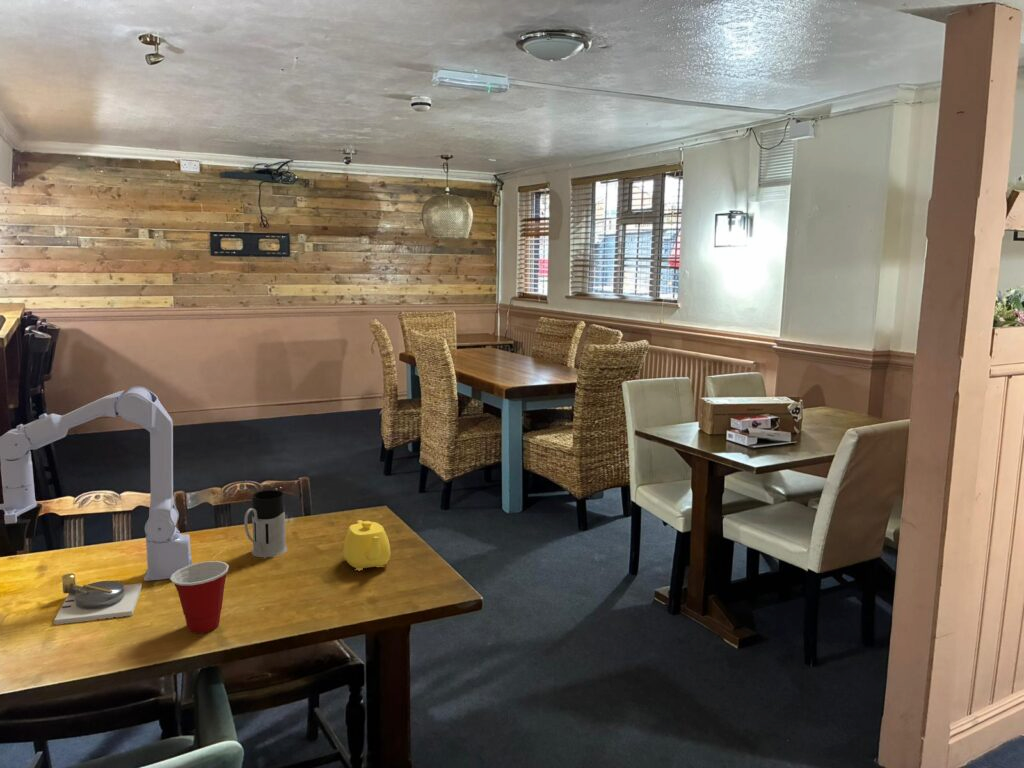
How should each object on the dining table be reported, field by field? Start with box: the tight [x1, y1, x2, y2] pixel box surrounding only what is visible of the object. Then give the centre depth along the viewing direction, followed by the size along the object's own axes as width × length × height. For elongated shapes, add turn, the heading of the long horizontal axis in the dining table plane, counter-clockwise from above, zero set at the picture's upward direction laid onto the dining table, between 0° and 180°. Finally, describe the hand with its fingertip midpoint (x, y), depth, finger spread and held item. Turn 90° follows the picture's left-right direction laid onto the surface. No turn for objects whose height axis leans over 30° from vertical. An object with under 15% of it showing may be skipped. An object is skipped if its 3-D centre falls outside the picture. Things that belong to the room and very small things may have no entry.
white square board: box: [53, 583, 143, 626], centre depth 157 cm, size 14×14×1 cm
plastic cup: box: [169, 560, 230, 634], centre depth 148 cm, size 11×11×12 cm
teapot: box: [342, 519, 391, 569], centre depth 180 cm, size 18×11×11 cm, turn 25°
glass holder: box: [243, 489, 288, 559], centre depth 185 cm, size 9×14×15 cm, turn 166°
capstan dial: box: [61, 573, 125, 608], centre depth 158 cm, size 15×9×4 cm, turn 69°
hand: (23, 544), depth 163 cm, fingers open, 7 cm apart
